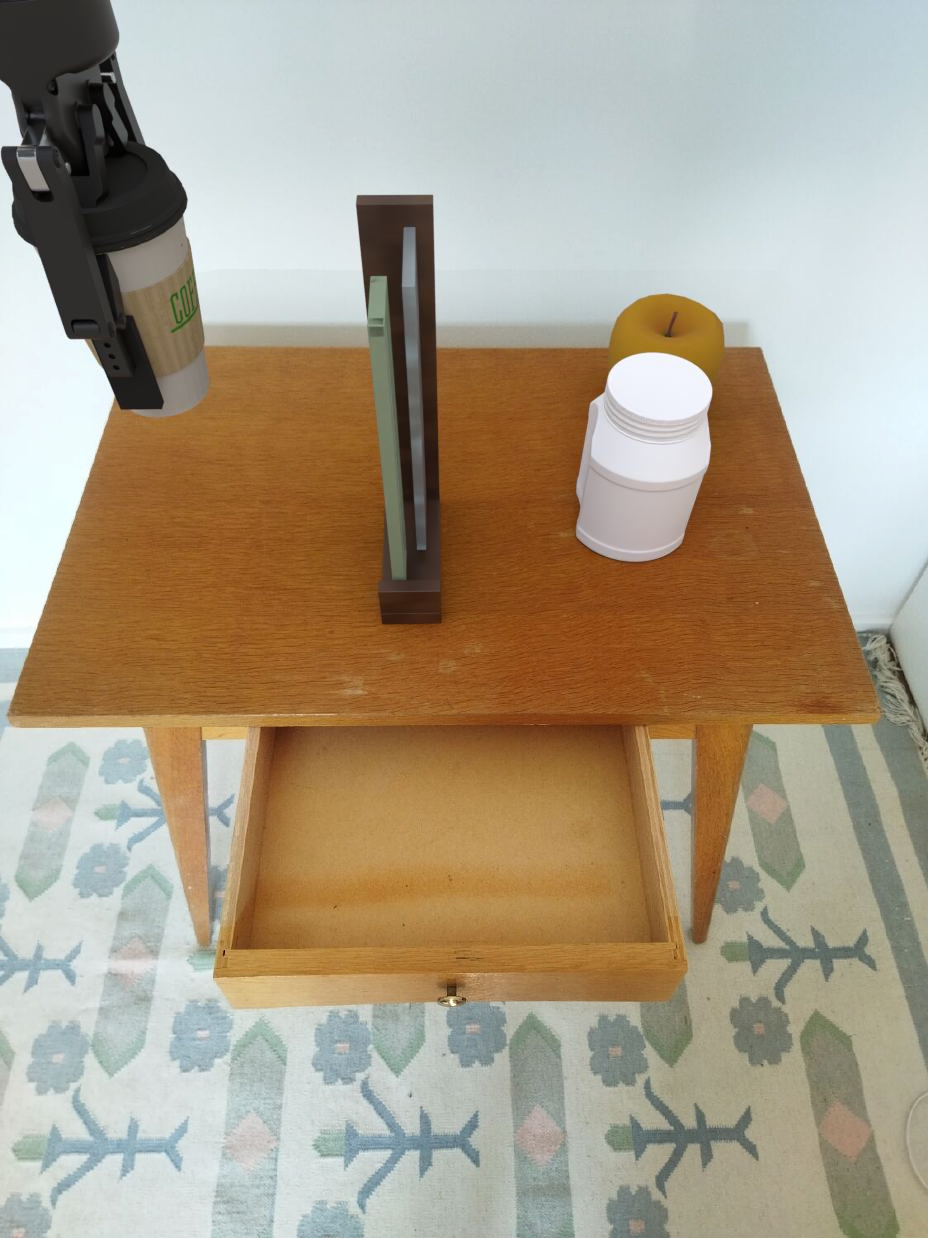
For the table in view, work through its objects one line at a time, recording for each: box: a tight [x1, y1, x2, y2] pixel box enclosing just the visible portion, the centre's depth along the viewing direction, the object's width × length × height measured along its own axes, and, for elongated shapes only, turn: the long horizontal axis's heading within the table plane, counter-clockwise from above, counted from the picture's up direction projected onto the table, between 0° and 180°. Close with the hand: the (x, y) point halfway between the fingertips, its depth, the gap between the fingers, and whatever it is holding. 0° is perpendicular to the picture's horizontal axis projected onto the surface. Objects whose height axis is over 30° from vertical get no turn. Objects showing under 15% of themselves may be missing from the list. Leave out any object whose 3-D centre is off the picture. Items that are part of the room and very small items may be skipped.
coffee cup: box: [11, 141, 211, 418], centre depth 53 cm, size 10×10×15 cm
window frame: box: [355, 194, 442, 625], centre depth 61 cm, size 5×14×29 cm, turn 1°
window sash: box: [366, 276, 407, 580], centre depth 59 cm, size 1×5×26 cm, turn 2°
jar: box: [575, 353, 713, 563], centre depth 70 cm, size 12×10×15 cm
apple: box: [607, 293, 726, 389], centre depth 79 cm, size 11×11×13 cm
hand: (155, 360), depth 57 cm, fingers closed on coffee cup, 9 cm apart
